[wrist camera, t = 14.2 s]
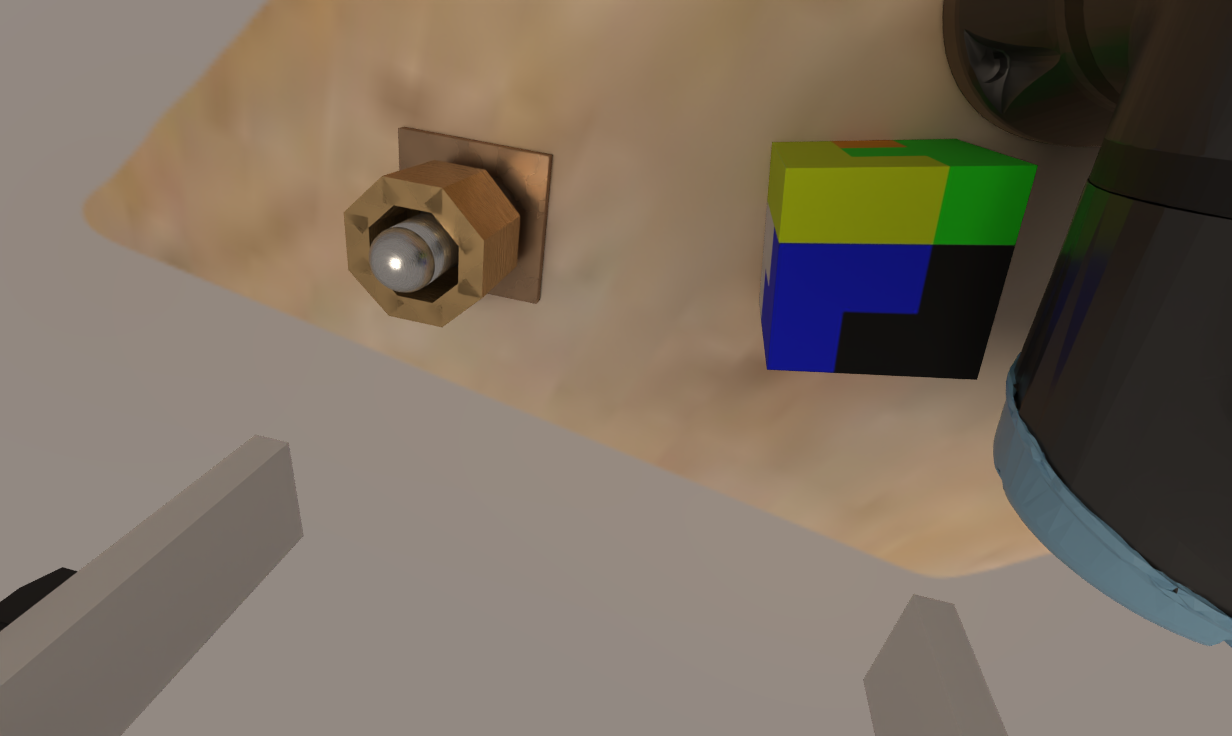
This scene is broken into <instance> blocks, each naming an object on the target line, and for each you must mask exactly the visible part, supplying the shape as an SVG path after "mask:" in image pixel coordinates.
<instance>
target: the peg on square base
mask: <svg viewBox="0 0 1232 736" xmlns="http://www.w3.org/2000/svg"><path fill="white" fill-rule="evenodd" d="M398 139H399V168H400V170H403V169H406V168H410V167H413V166H416V165H419V164H422V163H426V162H429V161H432V160H437V161H443V162H448V163H453V164H458V165H463V166H469V167H474V168H479V169H484V170H486V171H487V172H488V174H489V175H490V176H491V177H492V179H493V180H494V181H495V183H496V184H497V185H498V187H499V188H500V189H501V191H502V192H503V193H504V195H505V196H506V197H507V199H508V200H509V201H510V203H511V204H512V205H513V207H514V208H515V209H516V211H517V212H518V213H519V215H520V227H519V242H518V257H517V266H516V267H515V268H514V269H513V270H512V271H511V272H510V273H509V274H508V275H507V276H506V277H504V278H503V279H502V280H501V281H500V282H499V283H498V284H497V285H496V286H495V287H494V288H493V289H491V290H490V291H489V292H488V294H492V295H497V296H502V297H507V298H511V299H516V300H521V301H525V302H530V303H535V304H537V302H538V301H539V300H540V290H541V279H542V268H543V257H544V246H545V235H546V223H547V212H548V201H549V190H550V179H551V168H552V156H553V155H551V154H546V153H540V152H535V151H530V150H524V149H519V148H514V147H509V146H503V145H498V144H493V143H487V142H482V141H477V140H471V139H466V138H461V137H455V136H450V135H445V134H439V133H434V132H429V131H423V130H418V129H413V128H407V127H401V128H398ZM369 265H370V268H371V271H372V273H373V274H374V276H375V277H376V279H377V280H378V281H379V282H380V283H381V284H383V285H384V286H385V287H387V288H389V289H391V290H394V291H397V292H414V291H417V290H420V289H422V288H424V287H425V286H427V285H428V284H429V283H431V282H432V281H434V280H435V279H436V278H438V277H439V276H441V275H442V274H443V273H445V272H446V271H448V270H449V269H450V268H452V267H458V265H459V246H458V245H457V244H456V242H455V241H454V240H453V239H452V237H451V236H450V235H449V234H448V232H447V231H446V230H445V229H444V227H443V226H442V225H441V224H440V222H439V221H438V220H437V219H436V218H435V216H434V215H433V214H432V213H430V212H425V211H421V213H420V214H418V215H416V216H413V217H411V218H409V219H407V220H405V221H403V222H401V223H399V224H396V225H394V226H392V227H390V228H388V229H386V230H384V231H382V232H381V233H380V234H379V235H378V236H377V237H376V238H375V239H374V240H373V242H372V244H371V246H370V250H369Z"/></svg>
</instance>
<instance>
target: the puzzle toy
mask: <svg viewBox="0 0 1232 736" xmlns="http://www.w3.org/2000/svg"><path fill="white" fill-rule="evenodd" d="M1037 167H1038V165H1035V164H1032V163H1029V162H1026V161H1023V160H1020V159H1016V158H1013V157H1010V156H1007V155H1004V154H1001V153H998V152H995V151H992V150H989V149H986V148H982V147H979V146H976V145H973V144H970V143H967V142H964V141H961V140H958V139H926V140H872V141H818V142H772V150H771V162H770V175H769V187H768V199H767V211H766V223H765V236H764V248H763V260H762V272H761V284H760V297H759V305H760V314H761V323H762V331H763V340H764V349H765V357H766V366H767V370H786V371H807V372H828V373H849V374H870V375H891V376H911V377H932V378H953V379H974V380H977V378H978V374H979V371H980V367H981V364H982V360H983V357H984V353H985V350H986V346H987V343H988V339H989V336H990V332H991V328H992V325H993V321H994V318H995V314H996V311H997V307H998V304H999V300H1000V297H1001V293H1002V290H1003V286H1004V283H1005V279H1006V276H1007V272H1008V269H1009V265H1010V262H1011V258H1012V255H1013V251H1014V248H1015V244H1016V241H1017V237H1018V234H1019V230H1020V227H1021V223H1022V220H1023V216H1024V213H1025V209H1026V206H1027V202H1028V199H1029V195H1030V192H1031V188H1032V185H1033V181H1034V178H1035V174H1036V171H1037Z"/></svg>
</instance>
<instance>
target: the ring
mask: <svg viewBox="0 0 1232 736" xmlns="http://www.w3.org/2000/svg"><path fill="white" fill-rule="evenodd" d="M421 211H425V212H430V213H432V214H433V215H434V216H435V218H436V219H437V220H438V221H439V222H440V224H441V225H442V226H443V227H444V229H445V230H446V231H447V232H448V234H449V235H450V236H451V237H452V239H453V240H454V241H455V242H456V244H457V245H458V246H459V265H458V267H452V268H450V269H449V270H448V271H446V272H445V273H443V274H442V275H441V276H439V277H438V278H436V279H435V280H434V281H432V282H431V283H429V284H428V285H427V286H425V287H424V288H422V289H420V290H417V291H414V292H397V291H394V290H391V289H389V288H387V287H385V286H384V285H383V284H381V283H380V282H379V281H378V280H377V279H376V277H375V276H374V274H373V273H372V271H371V268H370V265H369V250H370V246H371V244H372V242H373V240H374V239H375V238H376V237H377V236H378V235H379V234H380V233H381V232H382V231H384V230H386V229H388V228H390V227H392V226H394V225H396V224H399V223H401V222H403V221H405V220H407V219H409V218H411V217H413V216H416V215H418V214H420V213H421ZM344 222H345V234H346V246H347V258H348V270H349V271H350V272H351V273H352V274H353V276H354V277H355V278H356V279H357V280H358V281H359V282H360V284H361V285H362V286H363V287H364V288H365V289H366V290H367V291H368V293H369V294H370V295H371V296H372V297H373V298H374V299H375V301H376V302H377V303H378V304H379V305H380V306H381V307H382V308H383V310H384V311H385V312H386V313H387V314H388V315H389V316H393V317H397V318H402V319H407V320H411V321H416V322H420V323H425V324H429V325H434V326H439V327H443V326H444V325H446V324H447V323H449V322H450V321H451V320H453V319H454V318H455V317H457V316H458V315H460V314H461V313H462V312H464V311H465V310H466V309H468V308H469V307H470V306H472V305H473V304H475V303H476V302H477V301H479V300H480V299H481V298H483V297H484V296H485V295H486V294H487V293H488V292H489V291H490V290H491V289H493V288H494V287H495V286H496V285H497V284H498V283H499V282H500V281H501V280H502V279H503V278H504V277H506V276H507V275H508V274H509V273H510V272H511V271H512V270H513V269H514V268H515V267H516V266H517V257H518V242H519V227H520V215H519V213H518V212H517V211H516V209H515V208H514V207H513V205H512V204H511V203H510V201H509V200H508V199H507V197H506V196H505V195H504V193H503V192H502V191H501V189H500V188H499V187H498V185H497V184H496V183H495V181H494V180H493V179H492V177H491V176H490V175H489V174H488V172H487V171H486V170H484V169H479V168H474V167H469V166H463V165H458V164H453V163H448V162H443V161H437V160H432V161H429V162H426V163H422V164H419V165H416V166H413V167H410V168H406V169H403V170H400V171H397V172H394V173H390V174H387V175H384V176H382V177H381V178H380V179H379V180H378V181H376V182H375V183H374V184H373V185H372V186H371V187H370V188H369V189H368V190H367V191H366V192H365V193H364V194H363V195H362V196H361V197H360V198H359V199H357V200H356V201H355V202H354V203H353V204H352V205H351V206H350V207H349V208H348V209H347V210H346V211H345V212H344Z"/></svg>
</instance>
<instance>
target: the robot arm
mask: <svg viewBox="0 0 1232 736" xmlns="http://www.w3.org/2000/svg"><path fill="white" fill-rule="evenodd" d="M943 34H944V44H945V49H946V54H947V58H948V62H949V65H950V68H951V71H952V74H953V76H954V78H955V80H956V83H957V85H958V86H959V88H960V90H961V91H962V93H963V95H964V96H965V97H966V99H967V100H968V101H969V103H970V104H971V105H972V106H973V107H974V108H975V109H976V110H977V111H978V112H979V113H980V114H981V115H982V116H983V117H985V118H986V119H987V120H989V121H990V122H991V123H993V124H994V125H996V126H998V127H999V128H1001V129H1003V130H1005V131H1007V132H1010V133H1012V134H1015V135H1017V136H1020V137H1024V138H1027V139H1031V140H1035V141H1040V142H1044V143H1049V144H1053V145H1061V146H1072V147H1090V146H1101V148H1100V151H1099V153H1098V156H1097V159H1096V161H1095V164H1094V167H1093V169H1092V172H1091V175H1090V176H1089V178H1088V179H1087V181H1086V184H1085V187H1084V189H1083V192H1082V195H1081V197H1080V200H1079V203H1078V205H1077V208H1076V211H1075V214H1074V216H1073V219H1072V222H1071V224H1070V227H1069V230H1068V232H1067V235H1066V238H1065V240H1064V243H1063V246H1062V248H1061V251H1060V254H1059V256H1058V259H1057V262H1056V265H1055V267H1054V270H1053V273H1052V275H1051V278H1050V281H1049V283H1048V286H1047V288H1046V291H1045V293H1044V296H1043V298H1042V301H1041V303H1040V306H1039V308H1038V311H1037V313H1036V316H1035V318H1034V321H1033V324H1032V326H1031V329H1030V331H1029V334H1028V336H1027V339H1026V341H1025V344H1024V346H1023V349H1022V351H1021V352H1020V353H1019V355H1018V356H1017V358H1016V359H1015V361H1014V363H1013V365H1012V366H1011V367H1010V371H1009V372H1008V376H1007V380H1006V401H1005V405H1004V408H1003V411H1002V414H1001V417H1000V420H999V424H998V427H997V430H996V434H995V438H994V445H993V457H994V464H995V468H996V470H997V472H998V474H999V476H1000V477H1001V479H1002V483H1003V489H1004V490H1005V494H1006V496H1007V498H1008V500H1009V502H1010V504H1011V505H1012V507H1013V508H1014V510H1015V511H1016V513H1017V514H1018V515H1019V517H1020V518H1021V520H1022V521H1023V522H1024V523H1025V525H1026V526H1027V527H1028V528H1029V530H1030V531H1031V532H1032V533H1033V534H1034V535H1035V536H1036V537H1037V539H1038V540H1039V541H1040V542H1041V543H1042V544H1043V545H1044V546H1045V547H1046V548H1047V549H1048V550H1049V551H1051V552H1052V553H1053V554H1054V555H1055V556H1056V557H1057V558H1058V559H1060V560H1061V561H1062V562H1063V563H1064V564H1066V565H1067V566H1068V567H1069V568H1070V569H1071V570H1073V571H1074V572H1075V573H1076V574H1078V575H1079V576H1080V577H1082V578H1083V579H1084V580H1086V581H1087V582H1088V583H1090V584H1091V585H1092V586H1094V587H1095V588H1096V589H1098V590H1099V591H1101V592H1102V593H1103V594H1105V595H1107V596H1108V597H1110V598H1111V599H1113V600H1114V601H1116V602H1117V603H1119V604H1121V605H1122V606H1124V607H1126V608H1127V609H1129V610H1131V611H1132V612H1134V613H1136V614H1138V615H1140V616H1141V617H1143V618H1145V619H1147V620H1149V621H1151V622H1153V623H1155V624H1157V625H1159V626H1161V627H1163V628H1165V629H1167V630H1169V631H1171V632H1173V633H1176V634H1178V635H1181V636H1183V637H1185V638H1188V639H1190V640H1192V641H1195V642H1198V643H1200V644H1203V645H1208V646H1212V645H1215V644H1218V643H1220V642H1222V641H1225V642H1226V643H1227V644H1229V646H1231V647H1232V0H944V7H943ZM302 537H303V530H302V524H301V517H300V512H299V505H298V499H297V492H296V486H295V480H294V473H293V467H292V461H291V455H290V448H289V443H288V442H284V441H280V440H276V439H272V438H267V437H263V436H259V435H254V436H253V437H252V438H251V439H249V440H248V441H247V442H245V443H244V444H243V445H242V446H241V447H239V448H238V449H236V450H235V451H234V452H232V453H231V454H230V455H229V456H227V457H226V458H225V459H223V460H222V461H221V462H219V463H218V464H217V465H216V466H214V467H213V468H212V469H210V470H209V471H208V472H206V473H205V474H204V475H203V476H201V477H200V478H199V479H197V480H196V481H195V482H194V483H192V484H191V485H190V486H188V487H187V488H186V489H184V490H183V491H182V492H181V493H179V494H178V495H177V496H175V497H174V498H173V499H172V500H170V501H169V502H168V503H166V504H165V505H164V506H162V507H161V508H160V509H158V510H157V511H156V512H155V513H153V514H152V515H151V516H149V517H148V518H147V519H146V520H144V521H143V522H142V523H140V524H139V525H138V526H136V527H135V528H134V529H133V530H132V531H130V532H129V533H128V534H126V535H125V536H123V537H122V538H121V539H120V540H118V541H117V542H116V543H114V544H113V545H112V546H110V547H109V548H108V549H107V550H105V551H104V552H103V553H101V554H100V555H99V556H98V557H96V558H95V559H94V560H92V561H91V562H90V563H88V564H87V565H86V566H85V567H83V568H82V569H81V570H79V571H78V572H77V571H74V570H70V569H66V568H63V567H62V568H60V569H58V570H56V571H54V572H52V573H50V574H48V575H45V576H43V577H41V578H39V579H37V580H35V581H33V582H31V583H29V584H27V585H25V586H23V587H21V588H19V589H17V590H16V591H15V592H13V593H12V594H11V595H9V596H8V597H7V598H5V599H4V600H2V601H1V602H0V736H121V735H122V734H123V732H124V731H125V730H126V729H127V728H128V727H129V726H130V725H131V724H132V723H133V721H134V720H135V719H136V718H137V717H138V716H139V715H140V714H141V713H142V712H143V711H144V710H145V708H146V707H147V706H148V705H149V704H150V703H151V702H152V701H153V700H154V698H155V697H156V696H157V695H158V694H159V693H160V692H161V691H162V690H163V689H164V688H165V687H166V685H167V684H168V683H169V682H170V681H171V680H172V679H173V678H174V677H175V676H176V675H177V673H178V672H179V671H180V670H181V669H182V668H183V667H184V666H185V665H186V663H187V662H188V661H189V660H190V659H191V658H192V657H193V656H194V655H195V654H196V653H197V652H198V651H199V649H200V648H201V647H202V646H203V645H204V644H205V643H206V642H207V641H208V640H209V639H210V637H211V636H212V635H213V634H214V633H215V632H216V631H217V630H218V629H219V628H220V626H221V625H222V624H223V623H224V622H225V621H226V620H227V619H228V618H229V617H230V616H231V614H232V613H233V612H234V611H235V610H236V609H237V608H238V607H239V605H241V604H242V602H243V601H244V600H245V599H246V598H247V597H248V596H249V595H250V593H252V592H253V590H254V589H255V588H256V587H257V586H258V585H259V584H260V583H261V582H262V581H263V579H264V578H265V577H266V576H267V575H268V574H269V573H270V572H271V570H273V569H274V567H275V566H276V565H277V564H278V563H279V562H280V561H281V560H282V559H283V558H284V557H285V555H286V554H287V553H288V552H289V551H290V550H291V549H292V548H293V547H294V546H295V545H296V543H297V542H298V541H299V540H300V539H301V538H302ZM863 681H864V685H865V690H866V695H867V700H868V705H869V709H870V713H871V719H872V723H873V728H874V733H875V736H1008V735H1007V732H1006V730H1005V727H1004V725H1003V722H1002V720H1001V718H1000V715H999V713H998V710H997V708H996V705H995V703H994V700H993V698H992V696H991V693H990V691H989V688H988V687H987V684H986V681H985V679H984V676H983V674H982V672H981V669H980V666H979V664H978V662H977V659H976V657H975V654H974V652H973V649H972V647H971V645H970V642H969V640H968V637H967V635H966V633H965V630H964V628H963V625H962V623H961V620H960V618H959V615H958V613H957V611H956V608H955V606H954V604H952V603H947V602H943V601H939V600H935V599H931V598H927V597H923V596H919V595H915V594H913V596H912V598H911V599H910V601H909V603H908V604H907V606H906V608H905V609H904V611H903V613H902V615H901V616H900V618H899V620H898V621H897V623H896V625H895V627H894V628H893V630H892V632H891V633H890V635H889V637H888V638H887V640H886V642H885V644H884V645H883V647H882V649H881V650H880V652H879V654H878V656H877V657H876V659H875V661H874V662H873V664H872V666H871V668H870V670H869V671H868V673H867V674H866V676H865V678H864V679H863Z"/></svg>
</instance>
